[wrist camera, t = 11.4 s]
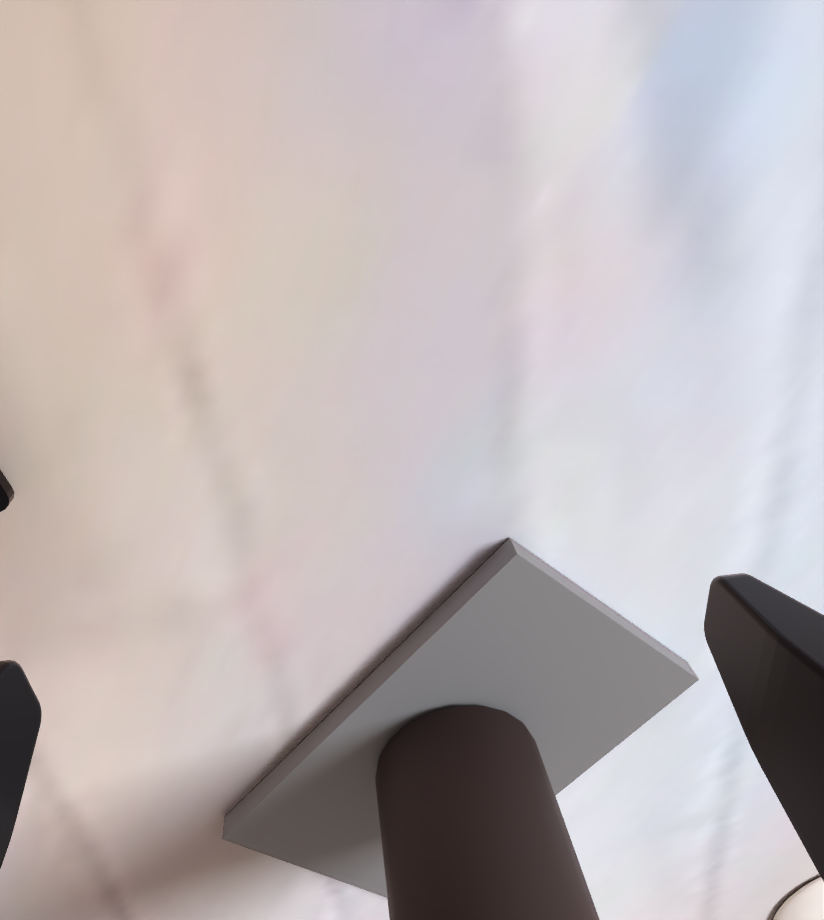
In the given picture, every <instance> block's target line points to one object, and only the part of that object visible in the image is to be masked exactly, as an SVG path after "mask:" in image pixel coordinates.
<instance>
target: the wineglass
mask: <svg viewBox="0 0 824 920" xmlns="http://www.w3.org/2000/svg"><path fill="white" fill-rule="evenodd" d="M773 920H824V881H823V880H822V878H821V877H819V878H817V879H816V880H814V881H812V882H810V883H808V884H807V885H805V886H804V887H802V888H801V889H799V890H798V891H797V892H795V893H794V894H793V895H792V896H791V897H789V898H788V899H787V900H786V901H785V902H784V903H783V904H782V906H781V907H780V908H779V910H778V911H777V913H776V914H775V916H774V919H773Z"/></svg>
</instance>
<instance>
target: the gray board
mask: <svg viewBox="0 0 824 920" xmlns="http://www.w3.org/2000/svg"><path fill="white" fill-rule="evenodd" d="M698 680H699V679H698V677H697V676H696V674H695V673H694V671H693V670H692V668H691V667H690V665H689V664H688V662H686V661H685V660H684V659H682V658H681V657H679V656H678V655H677V654H675V653H674V652H672V651H671V650H669V649H668V648H667V647H665V646H664V645H662V644H661V643H659V642H658V641H657V640H655V639H654V638H652V637H651V636H649V635H648V634H647V633H645V632H644V631H642V630H641V629H639V628H638V627H637V626H635V625H634V624H632V623H631V622H629V621H628V620H627V619H625V618H624V617H622V616H621V615H619V614H618V613H617V612H615V611H614V610H612V609H611V608H609V607H608V606H607V605H605V604H604V603H602V602H601V601H599V600H598V599H597V598H595V597H594V596H592V595H591V594H590V593H588V592H587V591H585V590H584V589H582V588H581V587H580V586H578V585H577V584H575V583H574V582H572V581H571V580H570V579H568V578H567V577H565V576H564V575H562V574H561V573H560V572H558V571H557V570H555V569H554V568H552V567H551V566H550V565H548V564H547V563H545V562H544V561H542V560H541V559H540V558H538V557H537V556H535V555H534V554H532V553H531V552H530V551H528V550H527V549H525V548H524V547H522V546H521V545H520V544H518V543H517V542H515V541H514V540H512V539H511V538H509V539H508V540H507V541H506V542H505V543H504V544H503V545H502V546H501V547H500V548H499V549H498V550H497V551H496V552H495V553H494V554H492V555H491V556H490V557H489V558H488V559H487V560H486V561H485V562H484V563H483V564H482V565H481V566H480V567H479V568H478V569H477V570H476V571H475V572H474V573H473V574H472V575H471V576H470V577H469V578H468V579H467V580H466V581H465V582H464V583H463V584H462V585H461V586H460V587H459V588H458V589H457V590H456V591H455V592H454V593H453V594H452V595H451V596H450V597H449V598H448V599H447V600H446V601H445V602H444V603H443V604H441V605H440V606H439V607H438V608H437V609H436V610H435V611H434V612H433V613H432V614H431V615H430V616H429V617H428V618H427V619H426V620H425V621H424V622H423V623H422V624H421V625H420V626H419V627H418V628H417V629H416V630H415V631H414V632H413V633H412V634H411V635H410V636H409V637H408V638H407V639H406V640H405V641H404V642H403V643H402V644H401V645H400V646H399V647H398V648H397V649H396V650H395V651H394V652H393V653H391V654H390V655H389V656H388V657H387V658H386V659H385V660H384V661H383V662H382V663H381V664H380V665H379V666H378V667H377V668H376V669H375V670H374V671H373V672H372V673H371V674H370V675H369V676H368V677H367V678H366V679H365V680H364V681H363V682H362V683H361V684H360V685H359V686H358V687H357V688H356V689H355V690H354V691H353V692H352V693H351V694H350V695H349V696H348V697H347V698H346V699H345V700H344V701H343V702H342V703H340V704H339V705H338V706H337V707H336V708H335V709H334V710H333V711H332V712H331V713H330V714H329V715H328V716H327V717H326V718H325V719H324V720H323V721H322V722H321V723H320V724H319V725H318V726H317V727H316V728H315V729H314V730H313V731H312V732H311V733H310V734H309V735H308V736H307V737H306V738H305V739H304V740H303V741H302V742H301V743H300V744H299V745H298V746H297V747H296V748H295V749H294V750H293V751H292V752H290V753H289V754H288V755H287V756H286V757H285V758H284V759H283V760H282V761H281V762H280V763H279V764H278V765H277V766H276V767H275V768H274V769H273V770H272V771H271V772H270V773H269V774H268V775H267V776H266V777H265V778H264V779H263V780H262V781H261V782H260V783H259V784H258V785H257V786H256V787H255V788H254V789H253V790H252V791H251V792H250V793H249V794H248V795H247V796H246V797H245V798H244V799H243V800H242V801H241V802H239V803H238V804H237V805H236V806H235V807H234V808H233V809H232V810H231V811H230V812H229V813H228V814H227V815H226V816H225V819H224V828H223V837H222V839H224V840H227V841H230V842H233V843H235V844H238V845H241V846H244V847H247V848H249V849H252V850H255V851H258V852H261V853H263V854H266V855H269V856H272V857H275V858H277V859H280V860H283V861H286V862H289V863H292V864H294V865H297V866H300V867H303V868H306V869H308V870H311V871H314V872H317V873H320V874H322V875H325V876H328V877H331V878H334V879H336V880H339V881H342V882H345V883H348V884H350V885H353V886H356V887H359V888H362V889H364V890H367V891H370V892H373V893H376V894H379V895H381V896H384V897H387V887H386V878H385V868H384V859H383V849H382V840H381V830H380V820H379V811H378V801H377V792H376V782H375V777H376V771H377V765H378V759H379V756H380V754H381V752H382V751H383V749H384V748H385V746H386V744H387V743H388V741H389V740H390V738H392V737H393V736H394V735H395V734H396V733H398V732H399V731H400V730H401V729H402V728H403V727H405V726H406V725H407V724H408V723H410V722H412V721H414V720H416V719H418V718H420V717H422V716H424V715H426V714H428V713H430V712H432V711H436V710H440V709H444V708H449V707H453V706H472V705H481V706H486V707H490V708H494V709H498V710H502V711H506V712H507V713H509V714H510V715H512V716H514V717H515V718H517V719H518V720H520V721H522V722H523V724H524V725H525V726H526V728H527V729H528V731H529V732H530V734H531V735H532V736H533V738H534V739H535V741H536V744H537V747H538V750H539V752H540V755H541V758H542V761H543V764H544V766H545V769H546V772H547V775H548V778H549V780H550V783H551V786H552V789H553V791H554V794H555V795H556V794H558V793H559V792H560V791H561V790H563V789H564V788H565V787H566V786H568V785H569V784H570V783H571V782H573V781H574V780H575V779H576V778H578V777H579V776H580V775H581V774H583V773H584V772H585V771H586V770H587V769H589V768H590V767H591V766H592V765H594V764H595V763H596V762H597V761H599V760H600V759H601V758H602V757H604V756H605V755H606V754H607V753H609V752H610V751H611V750H612V749H613V748H615V747H616V746H617V745H618V744H620V743H621V742H622V741H623V740H625V739H626V738H627V737H628V736H630V735H631V734H632V733H633V732H635V731H636V730H637V729H638V728H639V727H641V726H642V725H643V724H644V723H646V722H647V721H648V720H649V719H651V718H652V717H653V716H654V715H656V714H657V713H658V712H659V711H661V710H662V709H663V708H664V707H666V706H667V705H668V704H669V703H670V702H672V701H673V700H674V699H675V698H677V697H678V696H679V695H680V694H682V693H683V692H684V691H685V690H687V689H688V688H689V687H690V686H692V685H693V684H694V683H695V682H696V681H698ZM387 898H388V897H387Z"/></svg>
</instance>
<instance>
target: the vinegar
mask: <svg viewBox="0 0 824 920" xmlns="http://www.w3.org/2000/svg"><path fill="white" fill-rule="evenodd" d="M375 782H376V792H377V801H378V811H379V820H380V830H381V840H382V849H383V859H384V868H385V878H386V887H387V897H388V907H389V916H390V920H599V917H598V914H597V912H596V909H595V906H594V903H593V900H592V898H591V895H590V892H589V889H588V886H587V884H586V881H585V878H584V875H583V873H582V870H581V867H580V864H579V861H578V859H577V856H576V853H575V850H574V847H573V845H572V842H571V839H570V836H569V833H568V831H567V828H566V825H565V822H564V819H563V817H562V814H561V811H560V808H559V805H558V803H557V800H556V797H555V794H554V791H553V789H552V786H551V783H550V780H549V778H548V775H547V772H546V769H545V766H544V764H543V761H542V758H541V755H540V752H539V750H538V747H537V744H536V741H535V739H534V738H533V736H532V735H531V734H530V732H529V731H528V729H527V728H526V726H525V725H524V724H523V722H522V721H520V720H518V719H517V718H515V717H514V716H512V715H510V714H509V713H507V712H506V711H502V710H498V709H494V708H490V707H486V706H481V705H472V706H453V707H449V708H444V709H440V710H436V711H432V712H430V713H428V714H426V715H424V716H422V717H420V718H418V719H416V720H414V721H412V722H410V723H408V724H407V725H406V726H405V727H403V728H402V729H401V730H400V731H399V732H398V733H396V734H395V735H394V736H393V737H392V738H390V740H389V741H388V743H387V744H386V746H385V748H384V749H383V751H382V752H381V754H380V756H379V759H378V765H377V771H376V777H375Z"/></svg>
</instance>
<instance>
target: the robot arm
mask: <svg viewBox="0 0 824 920" xmlns="http://www.w3.org/2000/svg"><path fill="white" fill-rule="evenodd" d="M13 498H14V491H13V489H12V487H11V485H10V484H9V482H8V481H7V479H6V478H5V476H4V475H3V473H2V472H1V470H0V512H1V511H3V510H5V509H6V508H7V506H8V505H9V503H10V502H11V501H12V499H13ZM704 631H705V637H706V640H707V643H708V646H709V648H710V651H711V653H712V655H713V658H714V660H715V663H716V665H717V667H718V670H719V672H720V675H721V677H722V680H723V682H724V684H725V687H726V689H727V692H728V694H729V696H730V699H731V701H732V704H733V706H734V709H735V711H736V713H737V716H738V718H739V721H740V723H741V725H742V728H743V730H744V733H745V735H746V737H747V739H748V742H749V744H750V746H751V748H752V750H753V752H754V754H755V756H756V758H757V760H758V762H759V764H760V766H761V768H762V770H763V771H764V773H765V775H766V777H767V779H768V781H769V782H770V784H771V786H772V788H773V790H774V792H775V793H776V795H777V797H778V799H779V801H780V803H781V804H782V806H783V808H784V810H785V812H786V814H787V815H788V817H789V819H790V821H791V823H792V825H793V826H794V828H795V830H796V832H797V834H798V836H799V837H800V839H801V841H802V843H803V845H804V847H805V848H806V850H807V852H808V854H809V856H810V858H811V859H812V861H813V863H814V865H815V867H816V869H817V870H818V872H819V874H820V876H821V878H822V880H823V881H824V615H822V614H821V613H819V612H817V611H815V610H813V609H811V608H810V607H808V606H806V605H804V604H802V603H800V602H798V601H797V600H795V599H793V598H791V597H789V596H787V595H786V594H784V593H782V592H780V591H778V590H776V589H775V588H773V587H771V586H769V585H767V584H765V583H763V582H762V581H760V580H758V579H756V578H754V577H752V576H750V575H748V574H741V573H740V574H732V575H723V576H718V577H716V578H714V579H713V581H712V582H711V585H710V590H709V596H708V602H707V609H706V615H705V621H704ZM40 724H41V707H40V703H39V701H38V699H37V697H36V695H35V693H34V691H33V689H32V687H31V685H30V683H29V681H28V679H27V677H26V675H25V673H24V671H23V669H22V668H21V666H20V665H19V664H18V663H17V662H15V661H11V660H7V661H0V868H1V866H2V863H3V860H4V857H5V854H6V851H7V848H8V845H9V842H10V839H11V836H12V832H13V829H14V825H15V822H16V818H17V814H18V810H19V806H20V802H21V798H22V794H23V791H24V787H25V783H26V779H27V775H28V771H29V767H30V763H31V759H32V755H33V751H34V748H35V744H36V740H37V736H38V732H39V728H40Z"/></svg>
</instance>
